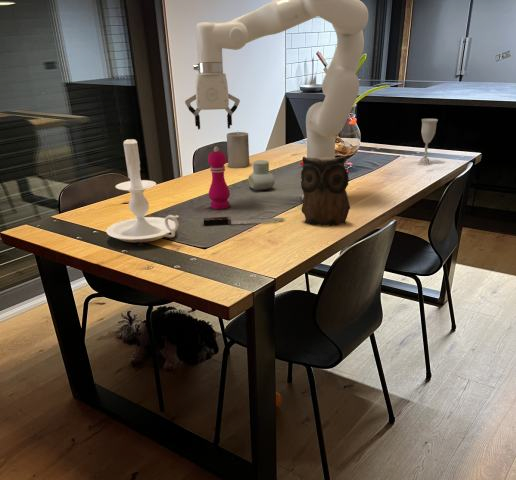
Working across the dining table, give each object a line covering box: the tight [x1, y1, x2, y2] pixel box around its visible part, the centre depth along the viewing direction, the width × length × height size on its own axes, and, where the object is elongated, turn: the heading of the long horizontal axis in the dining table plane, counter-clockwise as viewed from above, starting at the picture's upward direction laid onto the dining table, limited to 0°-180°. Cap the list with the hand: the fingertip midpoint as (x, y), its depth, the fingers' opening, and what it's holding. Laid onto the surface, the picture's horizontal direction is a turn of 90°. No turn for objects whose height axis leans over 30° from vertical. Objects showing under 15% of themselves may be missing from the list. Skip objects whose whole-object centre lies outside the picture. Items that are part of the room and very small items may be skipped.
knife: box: [203, 216, 284, 227], centre depth 170 cm, size 25×4×2 cm, turn 95°
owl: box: [300, 156, 351, 227], centre depth 163 cm, size 13×13×20 cm
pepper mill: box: [207, 146, 231, 210], centre depth 181 cm, size 7×7×20 cm
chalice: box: [418, 118, 439, 166], centre depth 231 cm, size 7×7×18 cm
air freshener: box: [247, 159, 276, 191], centre depth 204 cm, size 11×8×10 cm
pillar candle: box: [226, 130, 250, 169], centre depth 239 cm, size 10×10×15 cm
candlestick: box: [106, 138, 180, 244], centre depth 152 cm, size 21×25×28 cm
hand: (214, 128), depth 173 cm, fingers open, 9 cm apart
